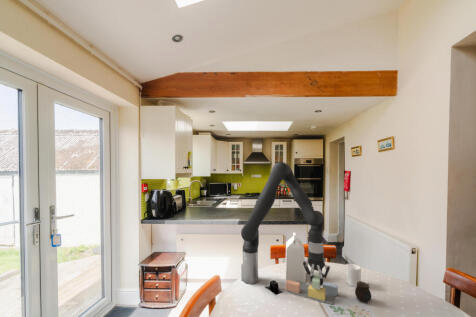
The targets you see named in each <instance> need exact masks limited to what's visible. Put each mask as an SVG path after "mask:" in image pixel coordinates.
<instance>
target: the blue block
mask: <svg viewBox="0 0 476 317" xmlns="http://www.w3.org/2000/svg"><path fill="white" fill-rule="evenodd" d="M322 288H324V289H326V293H328V294H332V295H335V297H337V296H338V293H339V289H338V288H339V285H338V284H336V283H332V282H327V281H323V285H322Z"/></svg>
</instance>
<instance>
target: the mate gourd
mask: <svg viewBox="0 0 476 317" xmlns="http://www.w3.org/2000/svg"><path fill="white" fill-rule="evenodd" d="M354 295H355V297H356V299H357V300H358V301H360V302H362V303H366V304H367V303H369V302H370V301H371V299H372V292H371V291H370V283H367V282H365V281H358V282H357V287H355V290H354Z"/></svg>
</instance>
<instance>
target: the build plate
mask: <svg viewBox="0 0 476 317" xmlns="http://www.w3.org/2000/svg"><path fill="white" fill-rule="evenodd" d="M279 286H280V285H279V282H277V281H276V280H275V279H274V280H270V281H269V285H267V286H265V287H264V288H265V289H266V290H268V291H269V292H271V293H272V294H274V295H275V296H277V295H280V294H283V293H284V291H283V290H281V289H280V288H279Z"/></svg>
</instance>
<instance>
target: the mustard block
mask: <svg viewBox="0 0 476 317" xmlns="http://www.w3.org/2000/svg"><path fill="white" fill-rule="evenodd" d="M308 285H309V287H308V296H309V297H313V298H316V299H320V300H324V301H325V298H326V289H324V288H323V287H320V290H318V289H314V288H312V284H308Z"/></svg>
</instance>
